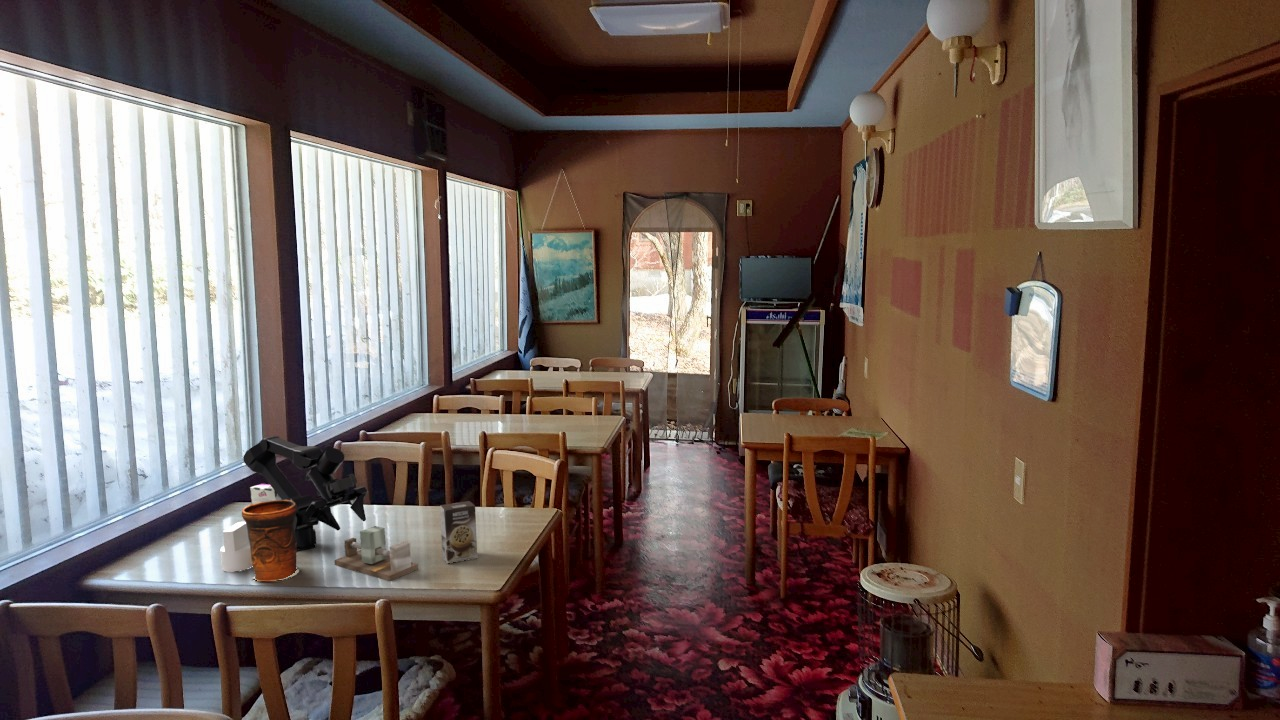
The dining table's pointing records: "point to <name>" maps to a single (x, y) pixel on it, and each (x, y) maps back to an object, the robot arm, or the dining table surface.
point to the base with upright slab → (236, 548)
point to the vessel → (272, 538)
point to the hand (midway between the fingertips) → (352, 525)
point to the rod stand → (384, 569)
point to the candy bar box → (263, 493)
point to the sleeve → (372, 544)
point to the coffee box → (458, 531)
